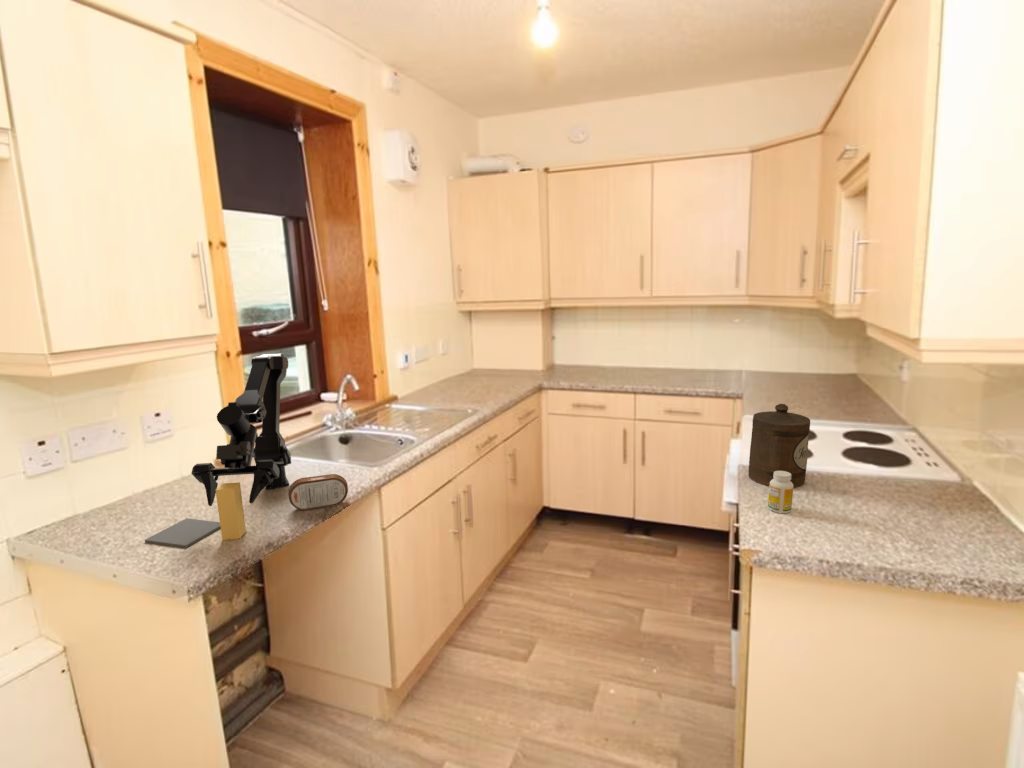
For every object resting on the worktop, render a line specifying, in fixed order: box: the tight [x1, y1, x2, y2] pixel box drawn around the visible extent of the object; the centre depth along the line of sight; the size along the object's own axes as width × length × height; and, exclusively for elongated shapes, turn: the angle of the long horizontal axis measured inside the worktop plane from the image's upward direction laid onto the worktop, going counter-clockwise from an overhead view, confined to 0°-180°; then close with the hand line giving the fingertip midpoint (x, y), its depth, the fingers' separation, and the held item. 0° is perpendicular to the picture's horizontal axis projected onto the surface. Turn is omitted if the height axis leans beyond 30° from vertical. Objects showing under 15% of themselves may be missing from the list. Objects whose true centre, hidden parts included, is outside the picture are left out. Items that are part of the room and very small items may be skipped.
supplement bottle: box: [767, 471, 794, 514], centre depth 140 cm, size 5×5×10 cm
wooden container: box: [748, 403, 811, 488], centre depth 159 cm, size 15×15×22 cm
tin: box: [287, 473, 349, 511], centre depth 149 cm, size 15×3×8 cm, turn 111°
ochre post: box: [215, 481, 247, 541], centre depth 133 cm, size 4×4×12 cm
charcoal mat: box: [144, 517, 221, 549], centre depth 136 cm, size 12×12×1 cm
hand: (230, 504), depth 132 cm, fingers open, 9 cm apart
